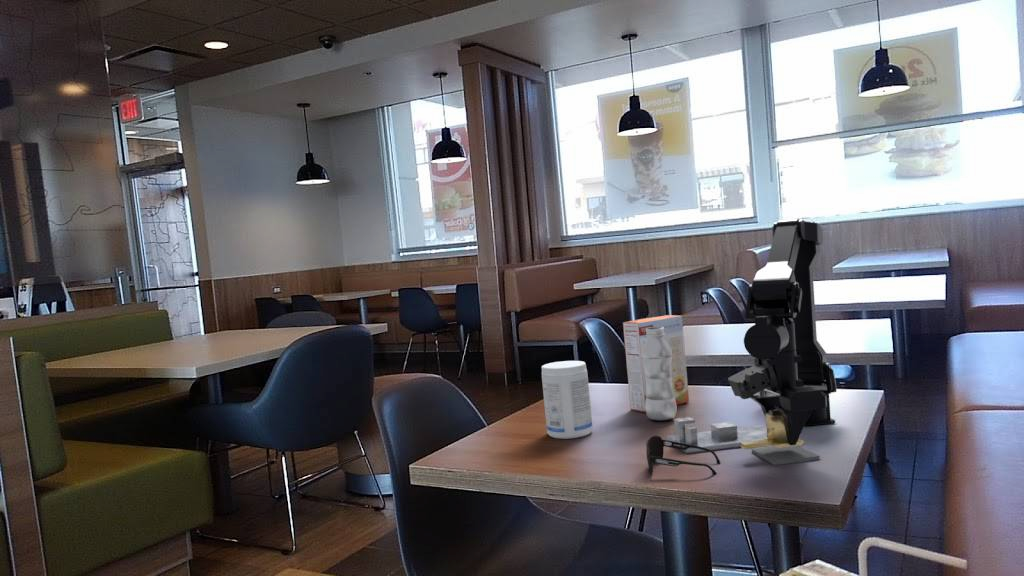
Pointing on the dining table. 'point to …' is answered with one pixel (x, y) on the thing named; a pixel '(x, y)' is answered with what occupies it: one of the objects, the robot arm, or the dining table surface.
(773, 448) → the mat
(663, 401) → the plastic bottle
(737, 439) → the lock base
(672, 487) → the dining table surface
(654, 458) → the sunglasses
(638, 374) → the cracker box
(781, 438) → the gold rounded piece
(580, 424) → the supplement tub
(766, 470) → the dining table surface
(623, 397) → the dining table surface
